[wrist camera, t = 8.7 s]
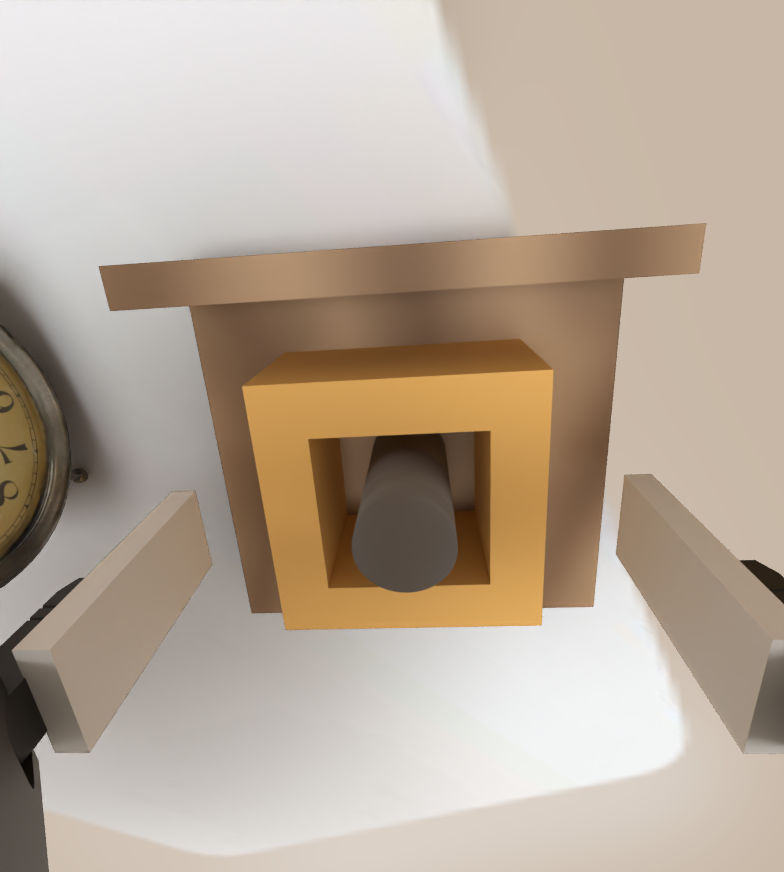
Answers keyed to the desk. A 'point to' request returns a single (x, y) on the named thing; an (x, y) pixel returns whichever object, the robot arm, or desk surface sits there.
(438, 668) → the desk surface
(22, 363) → the alarm clock
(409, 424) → the orange square frame
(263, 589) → the hook board
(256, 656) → the desk surface
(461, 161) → the desk surface
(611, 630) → the desk surface
